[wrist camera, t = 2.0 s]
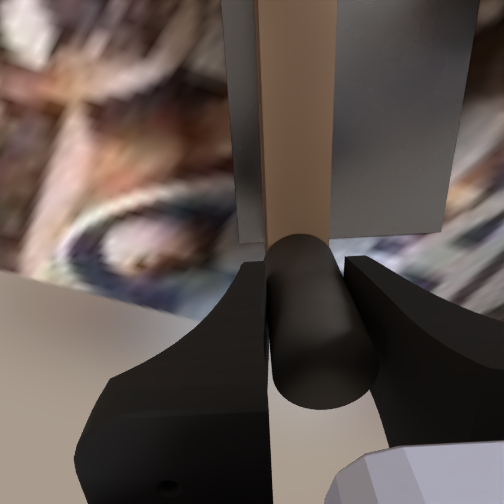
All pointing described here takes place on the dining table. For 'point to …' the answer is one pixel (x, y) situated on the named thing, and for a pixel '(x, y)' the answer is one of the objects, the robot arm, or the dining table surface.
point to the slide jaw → (304, 211)
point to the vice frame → (367, 113)
